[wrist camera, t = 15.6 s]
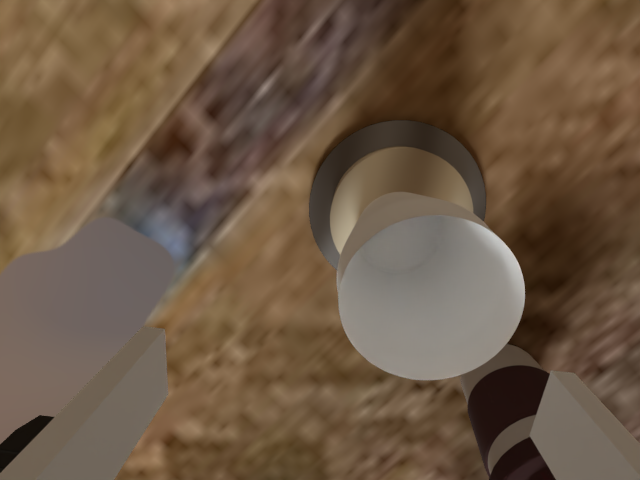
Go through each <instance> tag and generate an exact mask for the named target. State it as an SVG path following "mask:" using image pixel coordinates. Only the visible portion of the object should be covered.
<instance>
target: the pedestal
mask: <svg viewBox="0 0 640 480" xmlns="http://www.w3.org/2000/svg"><path fill="white" fill-rule="evenodd" d="M393 192H409V193H413V194H418V195H423V196H428V197H432V198H437V199H441V200H445V201H449V202H452V203H454V204H457V205H459V206H461V207H463V208H465V209H467V210H469V211H470V212H472V213H474V214H475V215H476V216H478V217H479V218H480V219H481V220H482V221H483V222H484V218H485V210H486V193H485V186H484V182H483V179H482V175H481V172H480V170H479V168H478V166H477V164H476V162H475V160H474V159H473V157H472V156H471V154H470V153H469V152H468V151H467V149H466V148H465V147H464V146H463V145H462V144H461V143H460V142H459V141H457V140H456V139H455V138H454V137H453V136H451V135H450V134H448V133H446V132H445V131H443V130H441V129H439V128H436V127H434V126H432V125H429V124H425V123H421V122H416V121H409V120H394V121H387V122H381V123H377V124H373V125H370V126H368V127H365V128H363V129H361V130H358V131H357V132H355V133H353V134H352V135H350V136H348V137H347V138H346V139H345V140H343V141H342V142H341V143H339V144H338V145H337V146H336V148H335V149H334V150H333V151H332V152H331V153H330V154H329V155H328V157H327V158H326V159H325V161H324V162H323V164H322V166H321V167H320V169H319V171H318V173H317V175H316V178H315V180H314V183H313V186H312V190H311V194H310V202H309V217H310V224H311V229H312V232H313V236H314V238H315V241H316V243H317V245H318V247H319V249H320V251H321V252H322V254H323V255H324V257H325V258H326V259H327V260H328V262H329V263H330V264H331V265H332V266H333V267H334V268H335V269H336V270H337V268H338V263H339V259H340V255H341V252H342V249H343V247H344V245H345V243H346V241H347V239H348V237H349V235H350V233H351V232H352V230H353V228H354V226H355V224H356V223H357V221H358V219H359V217H360V215H361V214H362V212H363V211H364V209H365V208H366V207H367V206H368V205H369V204H370V203H371V202H372V201H374V200H375V199H377V198H378V197H380V196H382V195H385V194H388V193H393Z"/></svg>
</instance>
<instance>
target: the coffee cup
mask: <svg viewBox="0 0 640 480" xmlns="http://www.w3.org/2000/svg"><path fill="white" fill-rule="evenodd" d="M549 375H550V374H549V373H547V372H546V371H545V370H544V369H543V368H542V367H541V366H540V365H539V364H538V363H537V362H536V361H535V360H534V359H533V358H532V356H531V355H530V354H528V353H527V352H526V351H524V350H522V349H521V348H519V347H516V346H513V345H508V344H506V345H505V346H504V347H503V348H502V349H501V350H500V351H499V352H498V353H497V354H496V355H495V356H494V357H493V358H491V359H490V360H489V361H487V362H486V363H484V364H483V365H481V366H479V367H478V368H476V369H474V370H472V371H469V372H467V373H464V374H461V385H462V388H463V391H464V394H465V397H466V400H467V404H468V414H469V418H470V421H471V424H472V427H473V431H474V434H475V437H476V440H477V443H478V447H479V450H480V453H481V456H482V460H483V463H484V466H485V469H486V471H487V474H488V476H489V480H556V479H555V477H554V475H553V474H552V472H551V470H550V469H549V467H548V465H547V464H546V462H545V460H544V459H543V457H542V455H541V454H540V452H539V450H538V449H537V447H536V445H535V444H534V442H533V440H532V439H531V437H530V432H531V429H532V426H533V423H534V420H535V417H536V414H537V411H538V408H539V405H540V402H541V399H542V396H543V393H544V390H545V387H546V384H547V381H548V378H549Z"/></svg>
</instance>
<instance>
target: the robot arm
mask: <svg viewBox="0 0 640 480" xmlns="http://www.w3.org/2000/svg"><path fill="white" fill-rule="evenodd" d="M167 395H168V382H167V363H166V343H165V329H161V328H152V327H142V328H141V329H140V330H139V331H138V332H137V333H136V334H135V335H134V336H133V337H132V338H131V339H130V340H129V341H128V342H127V343H126V344H125V346H123V348H122V349H121V350H120V351H119V352H118V353H117V354H116V355H115V356H114V357H113V358H112V359H111V360H110V361H109V362H108V363H107V364H106V365H105V366H104V367H103V368H102V369H101V370H100V371H99V372H98V373H97V374H96V375H95V376H94V377H93V379H91V380H90V381H89V383H87V385H86V386H85V387H84V388H83V389H82V390H81V391H80V392H79V393H78V394H77V395H76V396H75V397H74V398H73V399H72V400H71V401H70V402H69V403H68V404H67V405H66V406H65V407H64V408H63V409H62V410H61V411H60V412H59V413H58V414H57V415H56V416H55V417H50V416H41V415H40V416H38V417H36V418H35V419H33V420H31V421H30V422H28V423H26V424H25V425H23V426H22V427H20V428H18V429H17V430H15V431H14V432H13V433H12V434H11V435H10V436H9V437H8V438H7V439H6V440H5V441H4V442H3V443H1V444H0V480H114V479H115V477H116V475H117V474H118V472H119V471H120V469H121V468H122V466H123V464H124V463H125V461H126V460H127V458H128V457H129V455H130V453H131V452H132V450H133V449H134V447H135V446H136V444H137V442H138V441H139V439H140V438H141V436H142V435H143V433H144V431H145V430H146V428H147V427H148V425H149V424H150V422H151V420H152V419H153V417H154V416H155V414H156V413H157V411H158V410H159V408H160V406H161V405H162V403H163V402H164V400H165V399H166V397H167ZM530 437H531V439H532V440H533V442H534V444H535V445H536V447H537V449H538V450H539V452H540V454H541V455H542V457H543V459H544V460H545V462H546V464H547V465H548V467H549V469H550V470H551V472H552V474H553V475H554V477H555V479H556V480H640V443H639V442H638V441H637V440H636V439H635V438H634V437H633V436H632V435H631V434H630V433H629V432H628V430H627V429H626V428H625V427H624V426H623V425H622V424H621V423H620V422H619V421H618V420H617V419H616V418H615V416H614V415H613V414H612V413H611V412H610V411H609V410H608V409H607V408H606V407H605V406H604V405H603V404H602V402H601V401H600V400H599V399H598V398H597V397H596V396H595V395H594V394H593V393H592V392H591V391H590V389H589V388H588V387H587V386H586V385H585V384H584V383H583V382H582V381H581V380H580V379H579V378H578V377H577V375H576V374H575V373H568V372H559V371H551V372H550V375H549V378H548V381H547V384H546V387H545V390H544V393H543V396H542V399H541V402H540V405H539V408H538V411H537V414H536V417H535V420H534V423H533V426H532V429H531V432H530Z"/></svg>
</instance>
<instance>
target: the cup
mask: <svg viewBox="0 0 640 480" xmlns="http://www.w3.org/2000/svg"><path fill="white" fill-rule="evenodd" d="M337 289H338V304H339V314H340V319H341V322H342V326H343V328H344V330H345V333H346V335H347V337H348V338H349V340H350V342H351V343H352V344H353V346H354V347H355V348H356V350H357V351H358V352H359V353H360V354H361V355H362V356H363V357H364V358H365V359H367V360H368V361H369V362H370V363H372V364H373V365H375V366H377V367H378V368H380V369H382V370H384V371H386V372H388V373H391V374H394V375H397V376H400V377H404V378H408V379H415V380H439V379H446V378H451V377H455V376H459V375H461V374H464V373H467V372H469V371H472V370H474V369H476V368H478V367H479V366H481V365H483V364H484V363H486V362H487V361H489V360H490V359H491V358H493V357H494V356H495V355H496V354H497V353H498V352H499V351H500V350H501V349H502V348H503V347H504V346H505V345H506V344H507V343H508V341H509V340H510V338H511V337H512V336H513V334H514V332H515V330H516V329H517V326H518V324H519V322H520V319H521V316H522V313H523V308H524V302H525V285H524V279H523V275H522V271H521V269H520V266H519V264H518V262H517V260H516V258H515V256H514V255H513V253H512V252H511V250H510V249H509V248H508V246H507V245H506V244H505V243H504V242H503V241H502V240H501V239H500V238H499V237H498V236H497V235H496V234H495V233H494V232H493V231H492V230H491V229H490V228H489V227H488V226H487V225H486V224H485V223H484V222H483V221H482V220H481V219H480V218H479V217H478V216H476V215H475V214H474V213H472V212H470V211H469V210H467V209H465V208H463V207H461V206H459V205H457V204H454V203H452V202H449V201H445V200H441V199H437V198H432V197H428V196H423V195H418V194H413V193H409V192H393V193H388V194H385V195H382V196H380V197H378V198H377V199H375V200H374V201H372V202H371V203H370V204H369V205H368V206H367V207H366V208H365V209H364V211H363V212H362V214H361V215H360V217H359V219H358V221H357V223H356V224H355V226H354V228H353V230H352V232H351V233H350V235H349V237H348V239H347V241H346V243H345V245H344V247H343V249H342V252H341V255H340V259H339V263H338V268H337Z"/></svg>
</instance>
